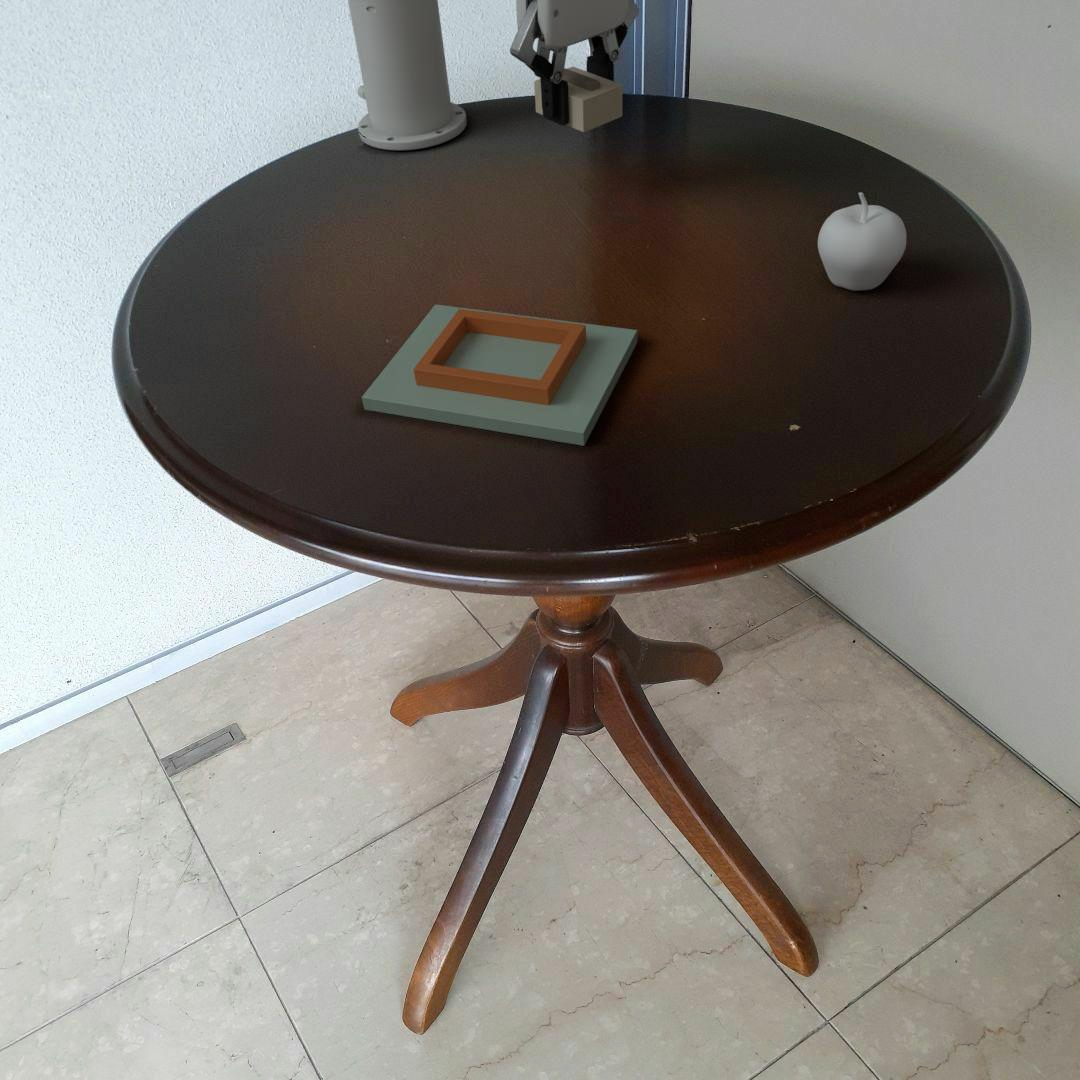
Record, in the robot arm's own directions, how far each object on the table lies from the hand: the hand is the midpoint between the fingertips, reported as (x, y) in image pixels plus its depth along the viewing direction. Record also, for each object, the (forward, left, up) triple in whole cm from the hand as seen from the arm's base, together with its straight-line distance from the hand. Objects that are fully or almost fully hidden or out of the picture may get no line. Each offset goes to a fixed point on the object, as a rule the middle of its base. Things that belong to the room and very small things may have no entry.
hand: (578, 109), depth 99 cm
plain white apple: (+31, +4, -9) cm, 32 cm away
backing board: (+20, -26, -8) cm, 34 cm away
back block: (0, 0, 0) cm, 0 cm away
